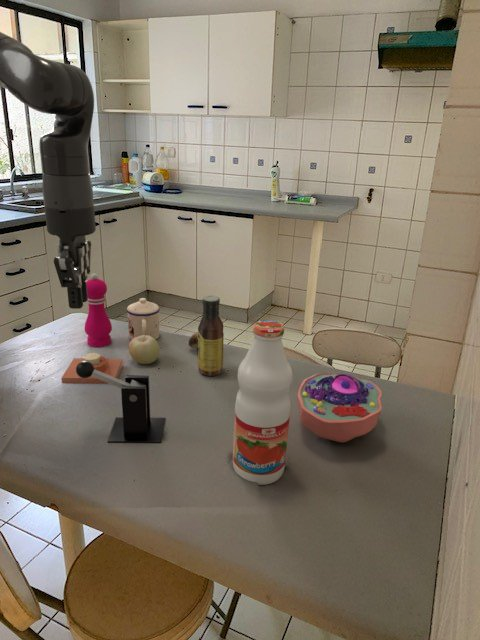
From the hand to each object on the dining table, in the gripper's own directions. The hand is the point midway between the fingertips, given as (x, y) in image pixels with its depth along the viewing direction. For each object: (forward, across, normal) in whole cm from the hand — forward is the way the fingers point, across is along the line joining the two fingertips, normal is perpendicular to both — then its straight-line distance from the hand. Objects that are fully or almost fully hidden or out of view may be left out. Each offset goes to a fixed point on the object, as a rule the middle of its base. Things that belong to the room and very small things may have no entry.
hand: (78, 304), depth 80 cm
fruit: (+27, -31, +6) cm, 42 cm away
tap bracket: (+27, 0, +9) cm, 29 cm away
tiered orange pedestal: (+27, -23, -5) cm, 36 cm away
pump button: (+23, -23, -5) cm, 33 cm away
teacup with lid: (+27, -45, +4) cm, 53 cm away
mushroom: (+27, -38, +21) cm, 51 cm away
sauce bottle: (+27, -26, +23) cm, 44 cm away
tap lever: (+16, 0, +4) cm, 17 cm away
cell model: (+27, -2, +49) cm, 56 cm away
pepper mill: (+27, -42, -8) cm, 51 cm away
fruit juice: (+27, +10, +32) cm, 43 cm away
